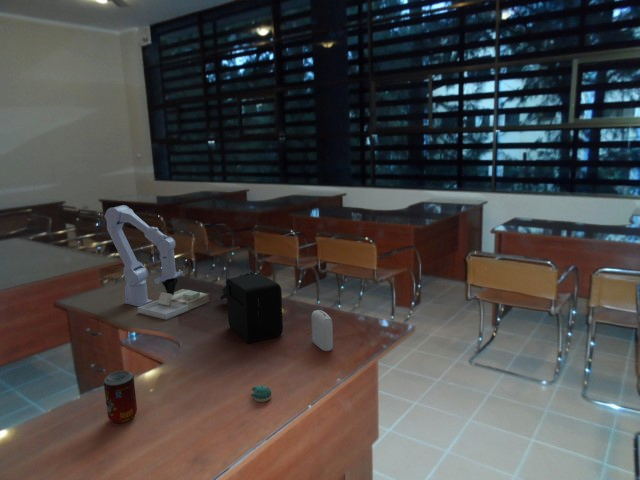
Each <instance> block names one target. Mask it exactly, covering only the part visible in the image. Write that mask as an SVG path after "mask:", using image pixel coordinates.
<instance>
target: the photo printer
mask: <svg viewBox="0 0 640 480" xmlns="http://www.w3.org/2000/svg"><path fill="white" fill-rule="evenodd" d="M333 339H334V335H333V320H332V317H330V315H328V313H326V312H325V311H323V310H320V309H317V310H313V311H312V313H311V340H312V343H313V344H314V345H316V346H317V347H318V348H319V349H321V350H322V351H325V352H329V351H332V349H333V347H334V341H333Z"/></svg>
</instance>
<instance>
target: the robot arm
mask: <svg viewBox="0 0 640 480" xmlns="http://www.w3.org/2000/svg"><path fill="white" fill-rule="evenodd" d="M103 217H104V219H105V221H106V230H107V232H108V235H109V236H110V238H111V240H112V242H113V244H114V246H115V248H116V250H117V253H118V254H119V256H120V259H121V261H122V264H123V265H124V268H123V271H122V272H123V274H124V280H125V282H126V285H125V286H124V296H125V297H124V298H125V301H124V304H126V305H131V306H135V307H140V306H143V305H146V304H149V303H151V302H153V300H152V299H149V298H148V288H147V279H148V277H149V271H148V269H147V268H146V267H145V266H144V264H143V263H142V262H140V261H139V260H137V257H136V256H135V253H134V252H133V249H132V247H131V245H130V243H129V241H128V239H127V237H126V235H125V232H124V230H123V227H124V224H125V223H128V224H129V223H130V224H131V225H132V226H134V227H136V229H138V230H139V231H141V232H143V234H144V237H145V238H146V239H148V240H149V242H151V243H152V244H154V246H156V248H157V251H159V255H160V263H161V273H162V274H161V275H160V276H158V277H156V278H154V284H156V285H159V284H160V283H161V284H163V287H164V288H165V290H166V293H169V294H172V295H174V292H175V290H176V286H177V284H178V282H179V280H178V278H179V277H182V276H184V271H182V270H179V271H176V258H175V256H176V255H175V248H176V245H177V244H176V243H177V242H176V240H175V239H174V238H173V237H172V236H168V235H166V234H164V233H163V232H161V231H160V230H159V227H156V226H149V225H148V224H147V223H146V222H145V221H144V220H142V219H141V218H140V217H139V216H138V215H137V214H136V213H135V212H134V210H133V209H132V208H130V207H129V206H127V204H126V205H125V204H122V205H119V206H118V205H117V206H115V207H109V208H108V209H106V211H105V214H104V215H103Z"/></svg>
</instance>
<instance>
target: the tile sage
mask: <svg viewBox="0 0 640 480" xmlns="http://www.w3.org/2000/svg"><path fill="white" fill-rule="evenodd" d="M198 297H200V292H199V291H196V292H195V291H194V290H190V291H189V292H187V293H184V294H183V298H184V299H189V300H193V299H195V298H198Z"/></svg>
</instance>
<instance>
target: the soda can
mask: <svg viewBox="0 0 640 480" xmlns="http://www.w3.org/2000/svg"><path fill="white" fill-rule="evenodd" d="M103 389H104V395H105V396H104V397H105V405H106V412H107V418H108V420H110V421H111V424H112V425H113V426H123V425H126V424H129V423H131V422H133V421H134V419H135V418H136V414H137V411H138V404H137V397H136V396H137V395H136V389H135V377H134V374H133V373H132V372H130V371H127V370H118V371H114V372H110V373H109V374H108V375H107V376H106V377H104V380H103Z"/></svg>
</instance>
